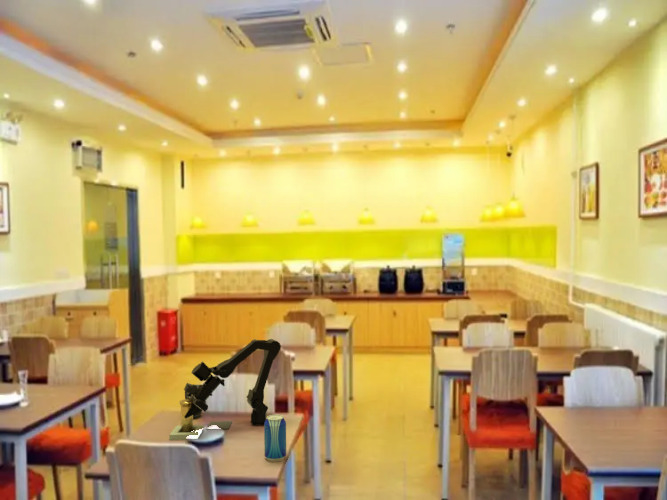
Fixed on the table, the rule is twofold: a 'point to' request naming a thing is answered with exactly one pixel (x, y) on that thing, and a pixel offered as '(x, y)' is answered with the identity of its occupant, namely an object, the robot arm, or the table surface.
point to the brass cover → (185, 406)
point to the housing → (179, 435)
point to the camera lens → (196, 413)
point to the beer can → (275, 438)
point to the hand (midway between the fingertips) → (183, 416)
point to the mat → (221, 424)
